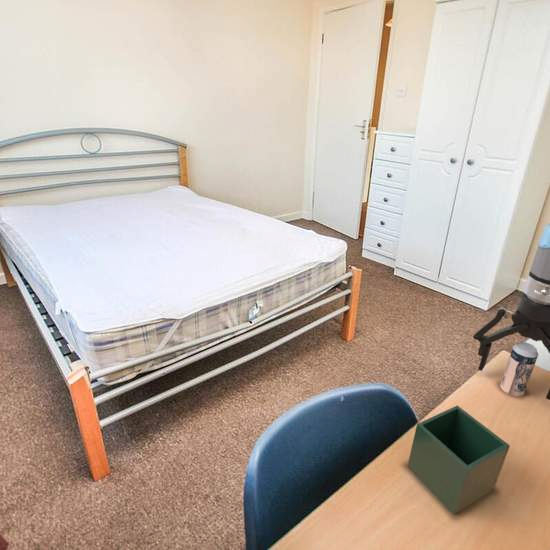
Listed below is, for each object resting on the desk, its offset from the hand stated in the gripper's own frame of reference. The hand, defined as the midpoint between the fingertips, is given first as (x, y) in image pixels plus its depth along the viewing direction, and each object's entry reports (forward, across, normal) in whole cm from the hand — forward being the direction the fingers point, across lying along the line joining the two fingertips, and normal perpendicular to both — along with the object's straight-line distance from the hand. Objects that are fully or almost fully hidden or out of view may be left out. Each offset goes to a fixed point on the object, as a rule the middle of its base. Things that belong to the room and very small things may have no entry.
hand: (513, 381), depth 86 cm
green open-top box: (+3, -2, -33) cm, 33 cm away
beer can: (+3, 0, 0) cm, 3 cm away
